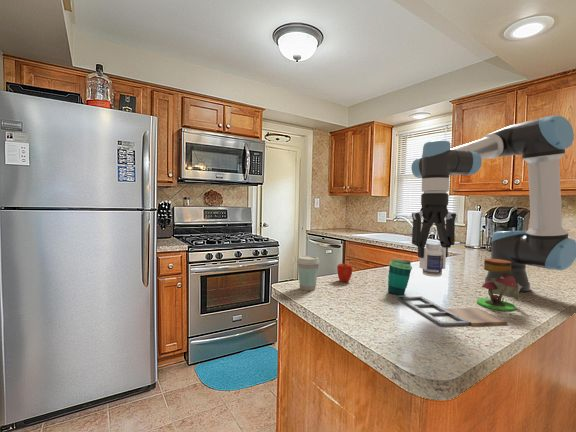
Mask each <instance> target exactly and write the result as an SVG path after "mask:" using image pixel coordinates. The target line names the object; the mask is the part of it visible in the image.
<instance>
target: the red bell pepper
mask: <svg viewBox="0 0 576 432" xmlns="http://www.w3.org/2000/svg"><path fill="white" fill-rule="evenodd" d="M336 268H337V269H336V270H337V277H338V279H339V282H342V283H348V282H350V280H351V277H352V274H353V267H352V264H349V263H339V264H337V267H336Z"/></svg>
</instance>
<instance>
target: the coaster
mask: <svg viewBox="0 0 576 432" xmlns="http://www.w3.org/2000/svg"><path fill="white" fill-rule="evenodd" d="M445 309H446V310H448V311H450V312H452V313H454V314H456V315H458V316H460V317H462V318H463V319H465V320H467V321H469V322H471V324H470V325H469V326H471V327H478V326H479V327H480V326H501V325H508V321H507V320H506V319H503V318H501V317H498V316H497V315H494V314H492V313H490V312H487V311H485V310H483V309H481V308H479V307H464V308H462V307H460V308H459V307H458V308H445Z"/></svg>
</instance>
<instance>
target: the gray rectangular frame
mask: <svg viewBox="0 0 576 432" xmlns="http://www.w3.org/2000/svg"><path fill="white" fill-rule="evenodd" d="M397 300H398V301H399V302H401V303H403V304H404V305H406V306H407V307H409V308H411V309H412V310H413V311H416V313H418V314H420V315H422V316H423V317H424V318H427V319H428V320H430V321H431V322H433V323H434V324H436V325H437V326H439V327H454V326H455V327H459V326H460V327H462V326H471V325H470V324H471V322H469V321H467V320H465V319H463V318H462V317H460V316H458V315H456V314H454V313H452V312H450V311H448V310H446V309H447V308H444V307H443V306H441V305H438V304H437V303H435V302H433V301H431V300H429V299H428V298H425V297H423V296H422V295H421V296H397ZM414 300H415V301H418V300H419V301H422V302H423V303H411V302H410V301H414ZM422 308H434V309H435V310H438V311H425V310H423V309H422ZM435 316H437V317H435ZM438 316H449V317H451V318H452V319H454V321H453V320H452V321H443V320H442V321H441V319H438Z"/></svg>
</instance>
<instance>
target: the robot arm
mask: <svg viewBox="0 0 576 432" xmlns="http://www.w3.org/2000/svg"><path fill="white" fill-rule="evenodd" d="M573 141H575V133H574V128H573V126H572V123H570V121H569V120H568V119H567V118H566V117H565V116H562V115H557V114H556V115H550V116H544V117H539V118H536V119H532V120H528V121H523V122H519V123H514V124H510V125H508V126H505V127H503V128H501V129H497V130H496V131H493V132H491V133H487V134H485V135H484V136H482V137H481V138H480V139H477V140H473V141H471V142H469V143H464V144H461V145H458V146H455V147H453V148H452V146H451V142H450V141H448V140H444V139H438V140H437V139H435V140H431V141H427V142H424V144H423V146H422V154H421V157H418V158H416V159H415V160H413V162H412V164H411V167H410V168H411V172H412V174H413V176H414V177H415V178H417V179H421V192H423V193H422V194H421V195H420V204H421V207H420V210H419V211H417V212H411V217H412V232H411V233H412V234H411V245H413V246H416V247H417V257H418V258H419V268H420V269H422V270H423V269H427V252H428V248H426V243H428V242H427V241H428V238H429V234H430V231H431V228H432V226H433V224H434V225H435V226H436V230H437V235H438V239H439V244H440V249H439V250H440V251H441V252H442V254H443V257H442V270H445V269H446V259H447V258H448V255H449V248H452V246H454V245H455V239H456V238H455V234H456V233H455V230H456V229H455V225H456V224H455V223H456V218H457V213H456V212H450V211H449V209H448V205H449V196H450V194H449V193H447V192H449V191H450V176H459V175H461V176H471V175H475V174H476V173H477V172H478V171H479V170H481V167H482V162H483V160H484V159H489V160H490V159H491V160H492V159H493V160H494V159H496V158H500V157H509V156H510V157H511V156H519V155H522V156H521V157H522V160H523V161H524V162H525V163H527V168H528V170H527V172H528V191H529V193H528V194H529V213H530V214H529V215H530V228H529V229H528V230H506V231H504V230H503V231H502V230H501V231H495V232H493V233H492V237H491V241H490V243H491V247H490V249H491V250H490V259H501V260H507V261H510V262H511V273H496V272H491V271H487V274H486V276H485V277H484V283H485V282H487V281H491V278H497V279H498V278H499V277H501V276H504V275H509V276H512V277H513V278H514V279H515V282H516V283H518V284H519V285H520V286H522V288H521V289H520V290H519V292H520V293H521V292H522V293H523V292H529V291H531V283H530V282H529V277H528V274H527V271H526V269H527V267H526V266H532V267H537V268H543V269H545V270H554V271H565V270H567V269H568V268H569V267H571V266H572V265H573V264H574V262H575V260H576V240H575V239H573V238H570V237H569V232H568V231H567V230H566V229H565V228H563V220H562V219H563V218H562V215H563V214H562V196H561V191H562V188H561V167H560V166H561V165H560V162H561V161H560V160H561V158H563V157H564V156H565V155H566V149H568V148H570V147H571V146H572V145H573V143H574V142H573Z"/></svg>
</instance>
